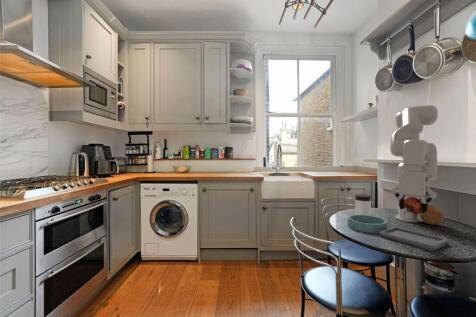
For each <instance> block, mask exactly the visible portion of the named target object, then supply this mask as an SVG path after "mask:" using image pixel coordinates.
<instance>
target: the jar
mask: <svg viewBox="0 0 476 317" xmlns="http://www.w3.org/2000/svg"><path fill="white" fill-rule="evenodd" d="M354 196H355V198H354V199H355V200H354V202H355V203H354V215H369V216H372V215H371V213H372V212H371V210H372V209H371V208H372V206H371V205H372V196H371V195H369V194H365V193H364V194H361V193H359V194H358V193H357V194H355V195H354Z"/></svg>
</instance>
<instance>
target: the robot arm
mask: <svg viewBox="0 0 476 317" xmlns="http://www.w3.org/2000/svg"><path fill="white" fill-rule="evenodd" d="M438 117H439V111H438V109H437V107H436V106H434V105H431V104H430V105H429V104H428V105H417V106H416V105H415V106H409V107H406V108H404V109H403V111H399V112H398V113H397V114H396V115H395V123H396V127H397V130H395V131H394V132H393V134H392V136H391V137H390V153H391V155H392V156H394V157H397V158H398V157H401V159H402V162H401V163H399V164H398V165H397V169H396V170H397V177H398V179H397V180H398V185H397V186H395V187H393V188H392V189H391V191H392V193H393V194H394V195H395V197H396V199H397V200H398V205H397V206H398V211H397V212H398V214H395V216H394V218H395V219H397V220H398V221H403V222H407V223H408V222H409V223H422V222H424V221H423V220H422V219H421V218H420V216H419V214H414V213H410V212H408V211H407V208H405V207H404V206H403V204H404V201H405V199H407V198H409V197H415V198H417V199H421V200H420V201H421V203H422V204H421V213H426V211H428V205H429V203H430V202H432V201H433V200H434V199H436V197H438V194H437V193H436V192H434V191H433V189H431V188H430V181H435V180H436V179H437V178H438V150H437V146H436V145H435V144H434V143H431V142H427V141H426V140H424V139H420V134H421V133H422V132H423V130H424V126H432V125H433V124H435V123H436V121H437V120H438ZM429 195H430V196H429ZM428 196H429V197H428ZM406 211H407V212H406ZM404 212H406V213H404ZM403 213H404V214H403Z"/></svg>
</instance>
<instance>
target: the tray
mask: <svg viewBox="0 0 476 317" xmlns="http://www.w3.org/2000/svg"><path fill="white" fill-rule="evenodd" d="M378 234H379V235H378V236H379V237H381V238H385V239H388V240H392V241H395V242H398V243H400V244H406V245H409V246H413V247H416V248H419V249H422V250H427V251H430V252H432V253H433V252H436V251H438V250H439V249H441V248H443V247H445V246H446V245H449V239H448V238H445V237H442V236H441V237H440V236H436V235H432V234H427V233H424V232H420V231H415V230H411V229H408V228H407V229H406V228H402V227H398V226H392V227H389V228H387V229H386V230H383V231H380V232H379V233H378Z"/></svg>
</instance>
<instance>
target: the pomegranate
mask: <svg viewBox="0 0 476 317" xmlns="http://www.w3.org/2000/svg"><path fill="white" fill-rule="evenodd" d="M422 203H423V202H422V200H421V198H420V199H417V198H415V197H409V198H407V199H405V201H404V204H403V206H404V207H405V208H407V211H408V212H410V213H414V214H419V213H421V204H422ZM407 211H406V212H407ZM406 212H404V213H406ZM404 213H403V214H404Z"/></svg>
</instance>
